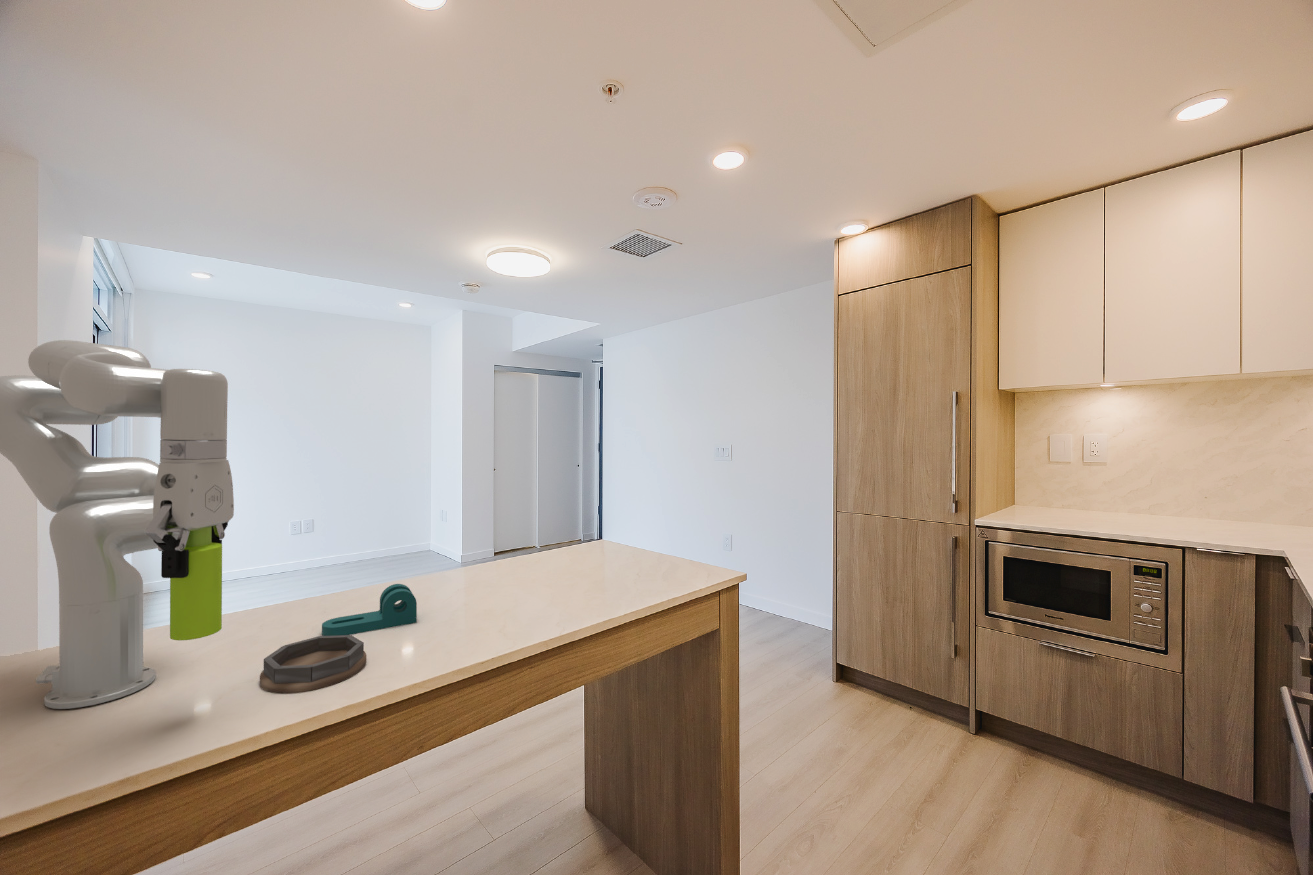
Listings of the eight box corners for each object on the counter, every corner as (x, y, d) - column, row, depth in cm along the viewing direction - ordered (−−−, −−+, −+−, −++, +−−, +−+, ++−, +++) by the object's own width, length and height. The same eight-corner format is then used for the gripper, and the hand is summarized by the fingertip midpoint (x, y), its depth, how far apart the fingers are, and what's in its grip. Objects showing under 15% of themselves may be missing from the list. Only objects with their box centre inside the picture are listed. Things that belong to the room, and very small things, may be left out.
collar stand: (236, 695, 85) (236, 672, 85) (293, 654, 101) (293, 635, 101) (341, 690, 87) (341, 668, 87) (380, 650, 102) (380, 632, 102)
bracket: (411, 614, 123) (411, 581, 123) (416, 623, 118) (416, 588, 118) (321, 630, 113) (321, 594, 113) (322, 640, 108) (322, 602, 108)
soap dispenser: (171, 628, 80) (172, 499, 80) (227, 623, 83) (228, 498, 82) (152, 643, 75) (153, 505, 74) (213, 637, 77) (213, 503, 77)
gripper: (175, 455, 70) (173, 588, 70) (258, 450, 87) (256, 557, 88) (113, 454, 69) (112, 588, 70) (209, 449, 86) (208, 557, 87)
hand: (192, 569), depth 79 cm, fingers closed on soap dispenser, 5 cm apart
